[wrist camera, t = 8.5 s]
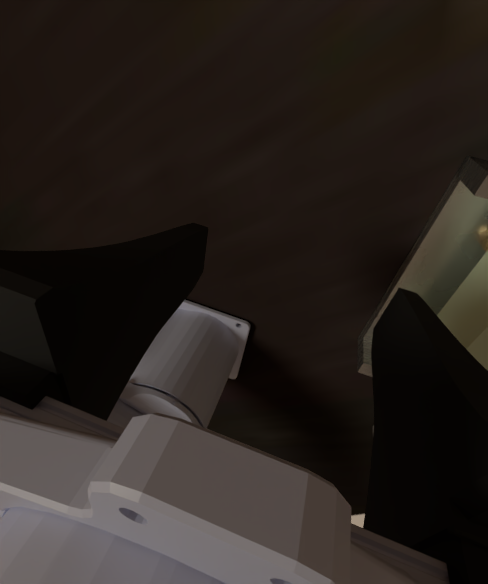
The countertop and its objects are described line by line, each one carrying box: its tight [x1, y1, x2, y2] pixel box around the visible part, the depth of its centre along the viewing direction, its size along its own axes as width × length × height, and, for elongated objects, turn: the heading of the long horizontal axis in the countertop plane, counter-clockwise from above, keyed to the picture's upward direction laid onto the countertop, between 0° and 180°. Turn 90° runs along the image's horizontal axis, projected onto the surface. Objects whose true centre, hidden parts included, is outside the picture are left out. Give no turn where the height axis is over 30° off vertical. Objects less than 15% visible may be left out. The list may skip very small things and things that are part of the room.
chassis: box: [358, 156, 488, 377], centre depth 18 cm, size 14×9×4 cm, turn 170°
